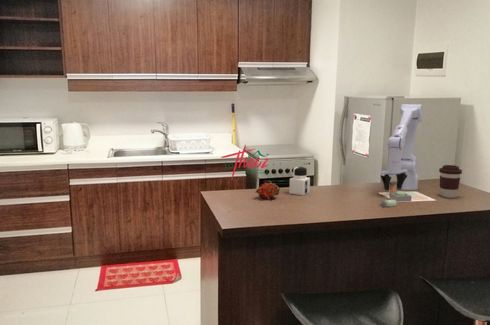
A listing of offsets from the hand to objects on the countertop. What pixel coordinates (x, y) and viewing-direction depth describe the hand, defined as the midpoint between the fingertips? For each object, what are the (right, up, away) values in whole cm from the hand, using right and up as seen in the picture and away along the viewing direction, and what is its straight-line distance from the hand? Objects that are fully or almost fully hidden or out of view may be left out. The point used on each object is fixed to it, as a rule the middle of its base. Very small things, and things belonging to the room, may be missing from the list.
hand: (392, 189), depth 208 cm
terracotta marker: (0, -3, +1) cm, 3 cm away
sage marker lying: (-8, -7, -19) cm, 21 cm away
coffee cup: (+27, -4, +1) cm, 28 cm away
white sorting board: (+6, -4, -2) cm, 7 cm away
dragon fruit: (-61, -4, -4) cm, 61 cm away
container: (-44, -3, +7) cm, 45 cm away
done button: (+1, -4, -9) cm, 9 cm away
